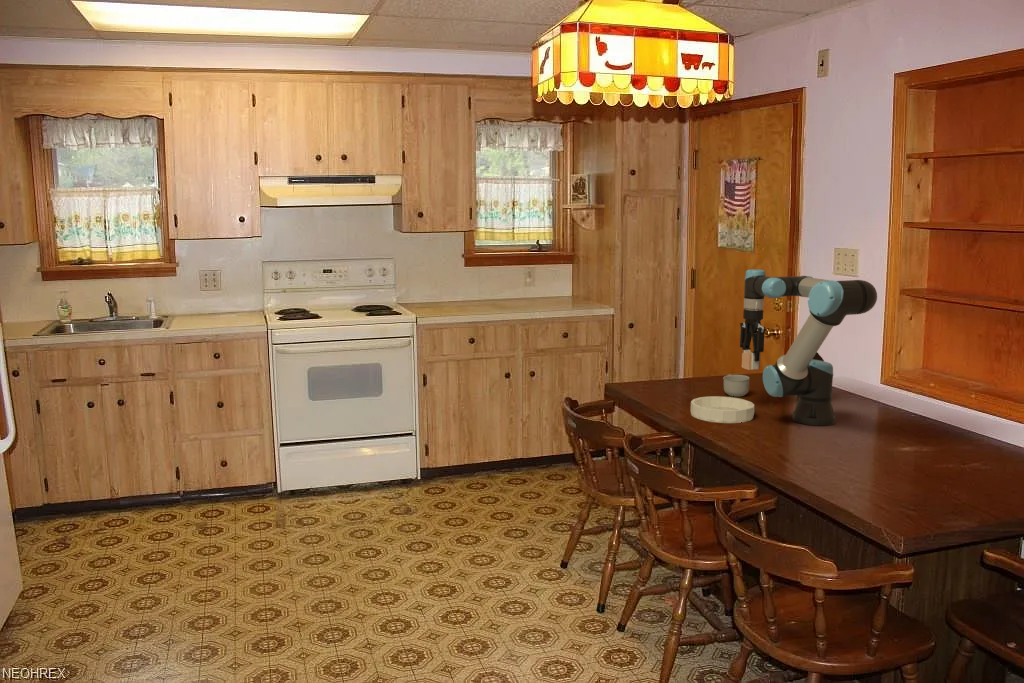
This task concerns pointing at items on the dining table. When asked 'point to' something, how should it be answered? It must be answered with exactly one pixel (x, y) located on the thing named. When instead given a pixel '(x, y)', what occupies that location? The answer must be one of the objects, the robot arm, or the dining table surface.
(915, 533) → the dining table surface
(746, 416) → the bowl
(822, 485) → the dining table surface
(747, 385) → the teacup
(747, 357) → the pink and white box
